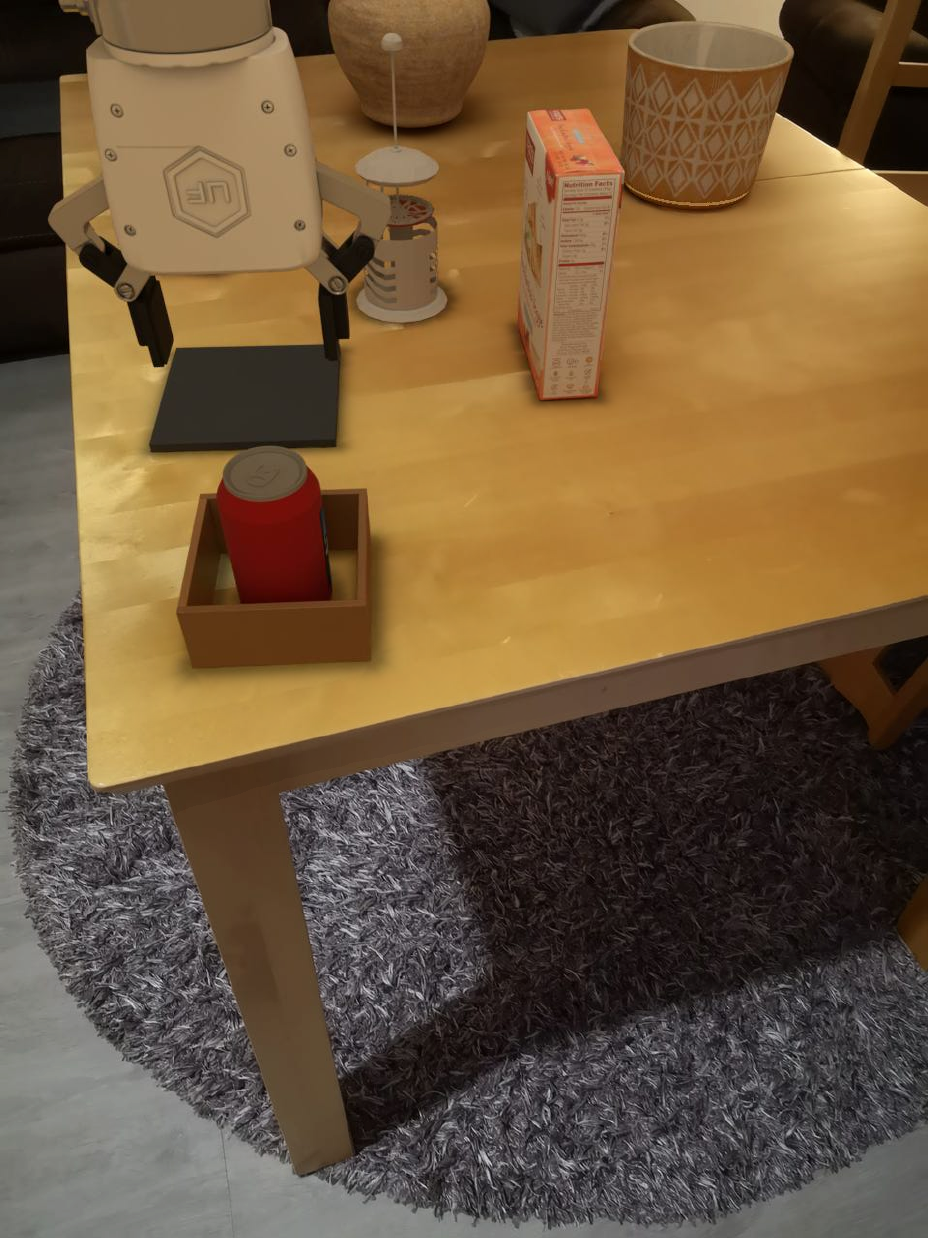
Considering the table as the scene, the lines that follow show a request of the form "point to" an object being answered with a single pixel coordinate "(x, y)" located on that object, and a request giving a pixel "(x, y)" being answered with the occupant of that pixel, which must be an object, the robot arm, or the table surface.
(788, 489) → the table surface
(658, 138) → the planter
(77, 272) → the table surface
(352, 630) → the open box
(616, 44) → the table surface
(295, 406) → the mat
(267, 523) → the beverage can
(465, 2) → the vase
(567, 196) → the cracker box
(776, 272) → the table surface
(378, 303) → the french press
